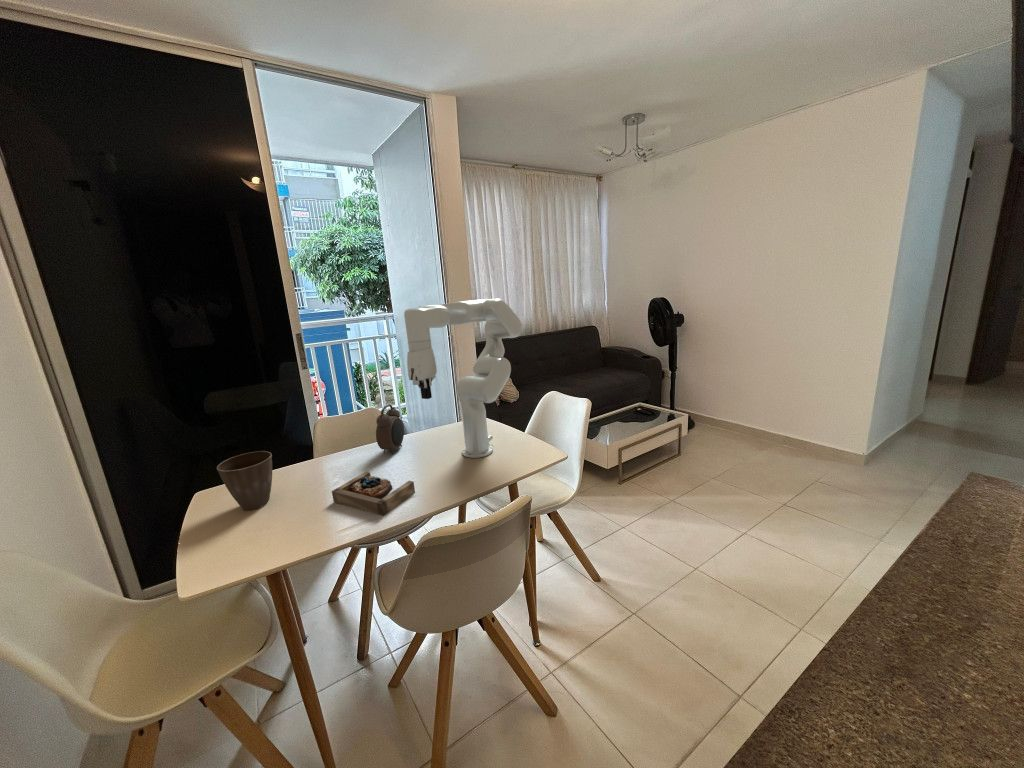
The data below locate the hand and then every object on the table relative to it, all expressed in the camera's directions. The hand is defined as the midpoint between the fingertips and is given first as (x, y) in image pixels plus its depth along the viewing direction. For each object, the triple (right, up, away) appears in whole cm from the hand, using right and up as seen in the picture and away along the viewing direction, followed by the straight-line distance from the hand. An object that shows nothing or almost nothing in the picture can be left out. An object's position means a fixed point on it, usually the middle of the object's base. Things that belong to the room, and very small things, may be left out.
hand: (426, 398), depth 134 cm
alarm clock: (-21, -24, +32) cm, 45 cm away
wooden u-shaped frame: (-16, -33, -6) cm, 37 cm away
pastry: (-18, -33, -3) cm, 37 cm away
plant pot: (-56, -35, -5) cm, 66 cm away
